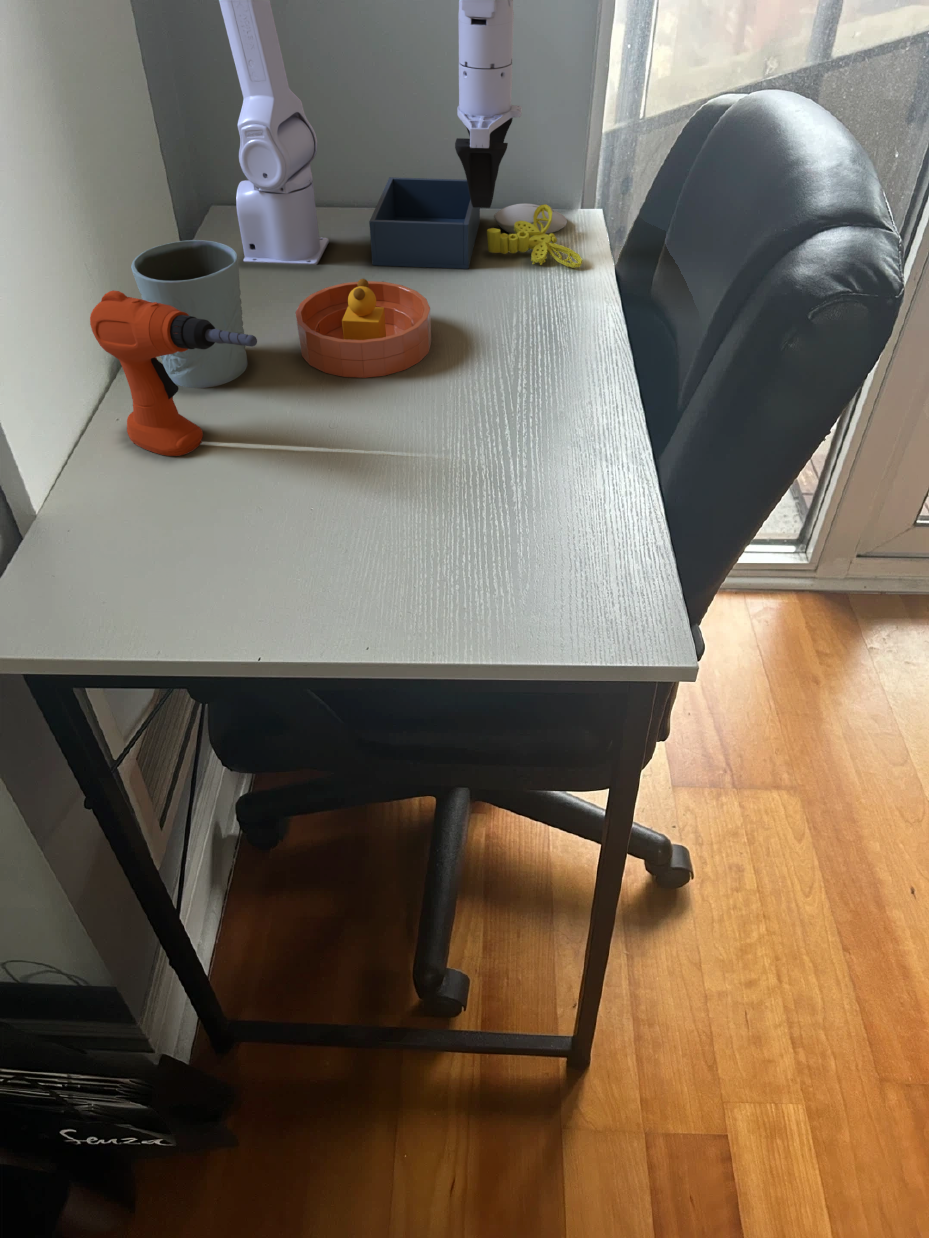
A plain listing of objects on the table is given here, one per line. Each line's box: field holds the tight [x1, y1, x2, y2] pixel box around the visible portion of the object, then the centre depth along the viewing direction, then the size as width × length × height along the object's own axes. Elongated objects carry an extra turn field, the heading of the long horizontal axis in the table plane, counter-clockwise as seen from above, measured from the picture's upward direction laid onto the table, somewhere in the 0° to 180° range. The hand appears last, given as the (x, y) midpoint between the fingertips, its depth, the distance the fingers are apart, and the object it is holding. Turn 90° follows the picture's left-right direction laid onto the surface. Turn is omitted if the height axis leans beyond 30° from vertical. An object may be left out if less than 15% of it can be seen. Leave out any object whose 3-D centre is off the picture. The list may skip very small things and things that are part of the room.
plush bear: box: [342, 278, 386, 340], centre depth 101 cm, size 4×3×7 cm
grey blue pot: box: [130, 239, 248, 389], centre depth 96 cm, size 10×10×12 cm
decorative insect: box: [486, 203, 583, 269], centre depth 119 cm, size 13×3×10 cm
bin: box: [368, 176, 481, 270], centre depth 122 cm, size 12×15×6 cm
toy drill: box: [89, 289, 258, 457], centre depth 84 cm, size 5×19×15 cm, turn 62°
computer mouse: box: [493, 203, 568, 234], centre depth 126 cm, size 6×10×3 cm, turn 103°
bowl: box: [294, 280, 432, 379], centre depth 102 cm, size 14×14×4 cm
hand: (484, 194), depth 109 cm, fingers open, 7 cm apart
